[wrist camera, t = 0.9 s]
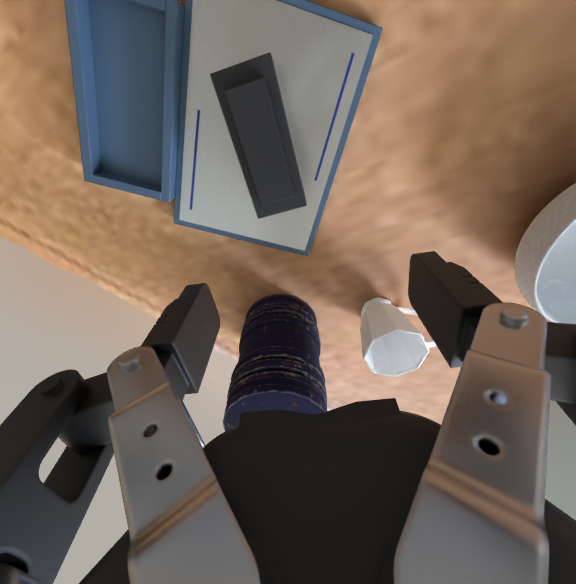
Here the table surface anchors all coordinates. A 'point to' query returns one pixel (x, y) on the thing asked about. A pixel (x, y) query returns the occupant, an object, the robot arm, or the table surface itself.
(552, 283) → the cereal bowl
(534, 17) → the table surface
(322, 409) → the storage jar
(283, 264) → the table surface
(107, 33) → the eraser holder
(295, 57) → the whiteboard
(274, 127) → the eraser
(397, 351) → the cup
